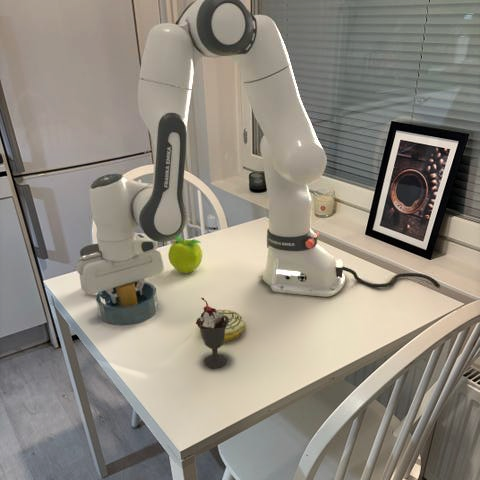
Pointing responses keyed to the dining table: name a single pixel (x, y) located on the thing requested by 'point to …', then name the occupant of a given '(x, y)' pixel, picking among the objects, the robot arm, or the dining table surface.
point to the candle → (127, 295)
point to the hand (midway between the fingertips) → (127, 298)
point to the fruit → (185, 255)
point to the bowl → (128, 307)
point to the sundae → (213, 334)
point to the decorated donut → (232, 324)
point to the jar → (89, 251)
